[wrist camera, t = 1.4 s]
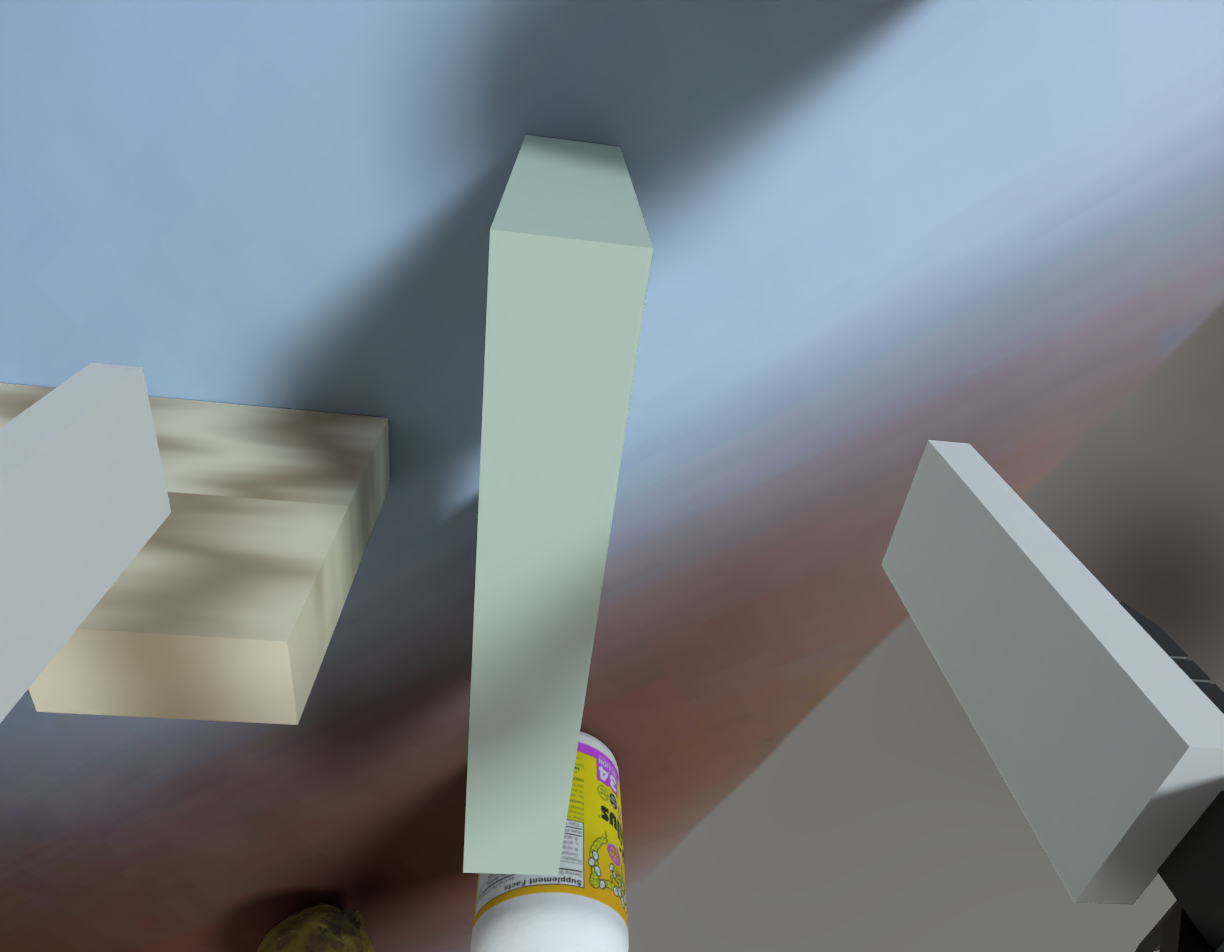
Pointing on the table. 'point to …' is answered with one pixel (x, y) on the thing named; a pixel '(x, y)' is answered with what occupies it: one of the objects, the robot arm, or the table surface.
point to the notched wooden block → (227, 566)
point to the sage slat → (547, 483)
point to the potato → (319, 932)
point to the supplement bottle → (566, 876)
